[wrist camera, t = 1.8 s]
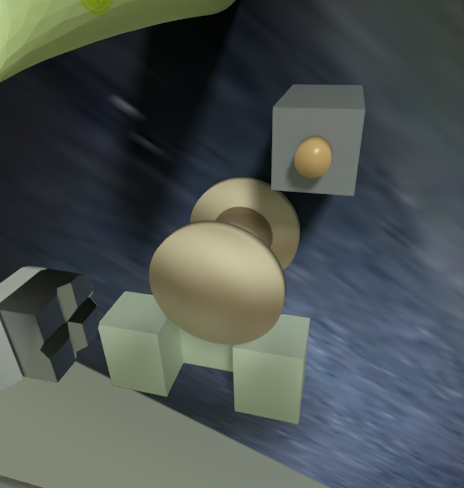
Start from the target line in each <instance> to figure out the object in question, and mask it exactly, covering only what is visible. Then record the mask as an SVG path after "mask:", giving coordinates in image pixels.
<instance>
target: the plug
mask: <svg viewBox="0 0 464 488" xmlns="http://www.w3.org/2000/svg"><path fill="white" fill-rule="evenodd" d="M364 115H365V103H364V94H363V85H292V86H291V88H290V89H289V90H288V91H287V92H286V93H285V94H284V95H283V97H282V98H281V99H280V100H279V101H278V102H277V103H276V105H275V106H274V107H273V131H272V176H271V190H279V191H292V192H306V193H320V194H334V195H347V196H354V191H355V183H356V175H357V168H358V160H359V153H360V145H361V138H362V130H363V122H364Z"/></svg>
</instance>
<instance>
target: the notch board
mask: <svg viewBox="0 0 464 488" xmlns="http://www.w3.org/2000/svg"><path fill="white" fill-rule="evenodd" d="M309 323H310V318H306V317H299V316H292V315H285V314H281V315H280V317H279V319H278V321H277V323H276V324H275V325H274V327H273V328H272V329H271V330H270V331H269V332H268V333H266V334H265V335H263V336H262V337H260V338H258V339H256V340H254V341H251V342H248V343H243V344H235V345H224V344H216V343H212V342H208V341H205V340H202V339H199V338H197V337H195V336H192V335H191V334H189V333H187V332H185V331H184V330H182V329H181V328H179V327H178V326H177V325H176V324H174V323H173V322H172V321H171V320H170V319H169V318H168V317H167V316H166V315H165V314H164V312H163V311H162V310H161V308H160V307H159V305H158V304H157V302H156V300H155V298H154V296H153V295H148V294H141V293H134V292H127V291H125V292H124V293H123V294H122V295H121V297H120V298H119V299H118V300H117V301H116V303H115V304H114V305H113V306H112V307H111V309H110V310H109V311H108V312H107V313H106V315H105V316H104V317H103V318H102V319H101V321H100V322H99V327H98V329H99V333H100V337H101V341H102V345H103V349H104V353H105V357H106V361H107V365H108V369H109V373H110V377H111V381H112V385H113V386H118V387H123V388H127V389H132V390H137V391H142V392H147V393H151V394H156V395H161V396H166V397H167V395H168V393H169V391H170V389H171V387H172V385H173V383H174V381H175V379H176V377H177V375H178V373H179V371H180V369H181V367H182V365H183V363H188V364H193V365H199V366H204V367H209V368H215V369H220V370H226V371H231V372H233V378H234V406H235V411H237V412H242V413H247V414H252V415H256V416H261V417H266V418H271V419H275V420H280V421H285V422H290V423H295V424H298V423H299V416H300V409H301V402H302V394H303V387H304V380H305V368H306V357H307V346H308V334H309Z"/></svg>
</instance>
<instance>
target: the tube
mask: <svg viewBox="0 0 464 488" xmlns="http://www.w3.org/2000/svg"><path fill="white" fill-rule="evenodd" d="M234 1H235V0H0V82H1V81H3V80H5V79H7V78H9V77H11V76H12V75H14V74H16V73H18V72H20V71H21V70H23V69H26V68H28V67H30V66H32V65H35V64H37V63H39V62H41V61H44V60H46V59H49V58H52V57H54V56H57V55H59V54H62V53H65V52H68V51H70V50H73V49H76V48H79V47H82V46H85V45H87V44H90V43H93V42H96V41H99V40H102V39H105V38H109V37H112V36H115V35H118V34H122V33H125V32H129V31H133V30H137V29H141V28H144V27H148V26H152V25H156V24H161V23H165V22H170V21H175V20H180V19H185V18H191V17H198V16H205V15H212V14H215V13H219V12H221V11H223V10H225V9H226V8H228V7H229V6H230V5H231V4H232V3H233V2H234Z"/></svg>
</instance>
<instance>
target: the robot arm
mask: <svg viewBox="0 0 464 488" xmlns="http://www.w3.org/2000/svg"><path fill="white" fill-rule="evenodd" d="M93 291H94V289H93V286H92V282H91V279H90V278H89V277H87V276H86V275H84V274H78V273H72V272H66V271H60V270H54V269H45V268H40V267H33V266H28V267H22V268H21V269H19V270H18V271H17V272H15V273H14V274H13V275H11V276H10V277H9V278H7V279H6V280H5V281H3V282H2V283H1V284H0V393H1V392H2V391H4V390H5V389H7V388H9V387H10V386H12V385H14V384H15V383H17V382H18V381H20V380H22V379H23V376H24V377H29V378H35V379H40V380H46V381H51V382H57V383H58V381H59V380H60V379H61V378H62V377H63V376H64V374H65V373H66V372H67V371H68V369H69V368H70V367H71V366H72V365H73V363H74V362H75V361H76V352H77V351H79V350H81V349H83V348H85V347H87V346H88V345H89V344H90V342H91V341H92V340H93V338H94V337H95V335H96V332H97V329H98V327H99V317H100V314H99V310H98V306H97V305H96V304H95V303H94V301H93V300H92V299H91V298H90V296H91V295H92V293H93ZM0 488H42V487H38V486H35V485H32V484H28V483H25V482H22V481H18V480H15V479H11V478H8V477H4V476H1V475H0Z"/></svg>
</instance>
